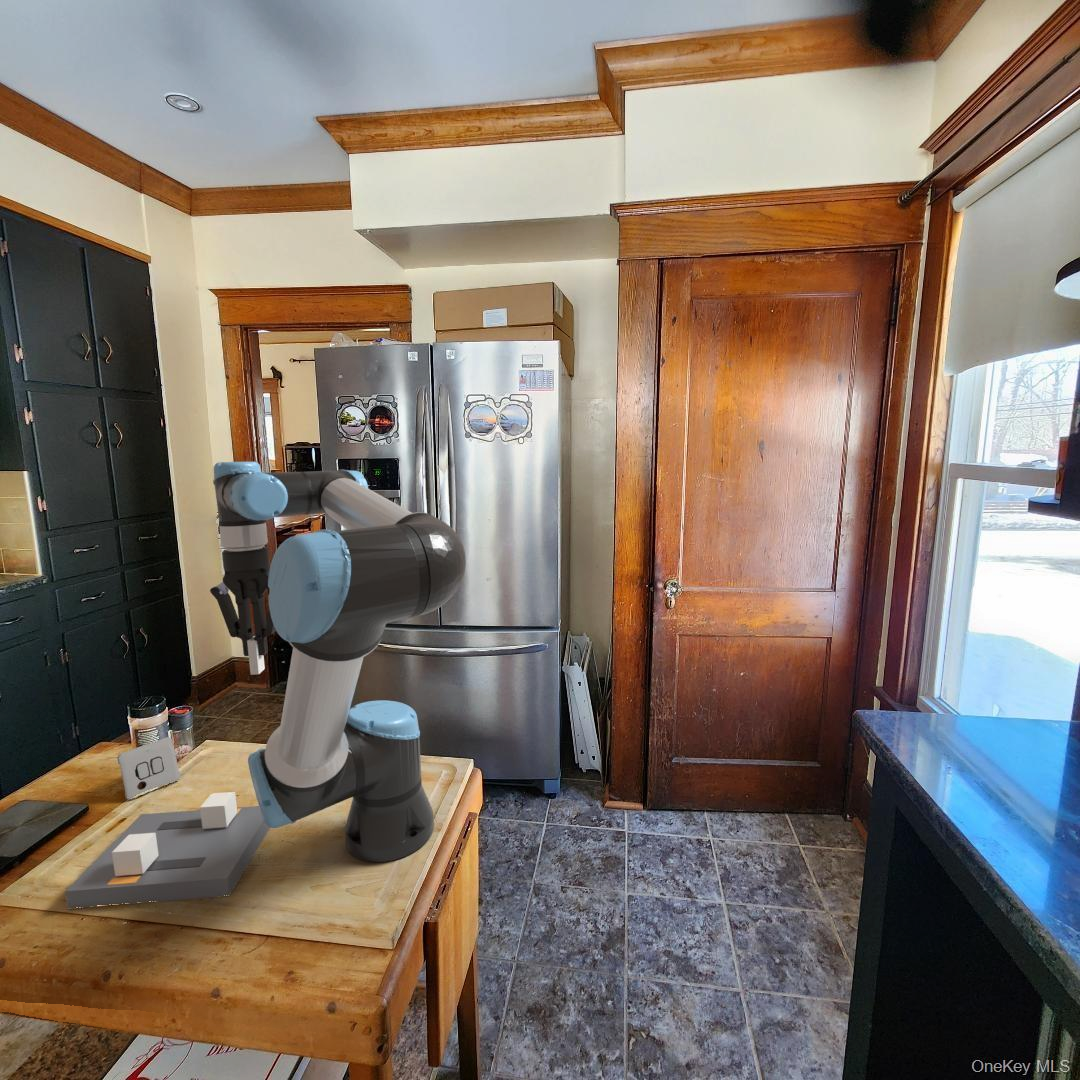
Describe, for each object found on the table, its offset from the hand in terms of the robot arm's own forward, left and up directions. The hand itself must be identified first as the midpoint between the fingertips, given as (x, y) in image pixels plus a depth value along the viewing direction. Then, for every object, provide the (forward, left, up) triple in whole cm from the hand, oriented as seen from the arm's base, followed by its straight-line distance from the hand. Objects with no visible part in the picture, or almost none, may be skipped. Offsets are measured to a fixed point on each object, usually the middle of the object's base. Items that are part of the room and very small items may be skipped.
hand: (257, 671), depth 104 cm
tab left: (+12, +20, -23) cm, 33 cm away
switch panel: (+9, +15, -26) cm, 32 cm away
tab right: (+4, +10, -23) cm, 26 cm away
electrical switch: (+27, -8, -27) cm, 39 cm away
